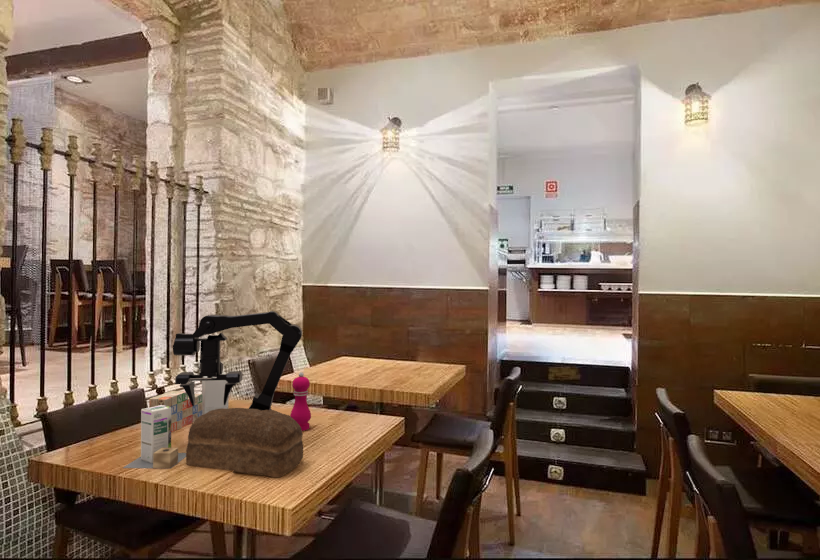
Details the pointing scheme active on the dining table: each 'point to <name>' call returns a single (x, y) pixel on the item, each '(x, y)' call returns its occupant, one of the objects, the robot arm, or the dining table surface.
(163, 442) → the syrup box
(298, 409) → the pepper mill
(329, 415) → the dining table surface
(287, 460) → the bread
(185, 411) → the stack of blocks
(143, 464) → the slate board
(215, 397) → the supplement box
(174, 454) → the oak block
